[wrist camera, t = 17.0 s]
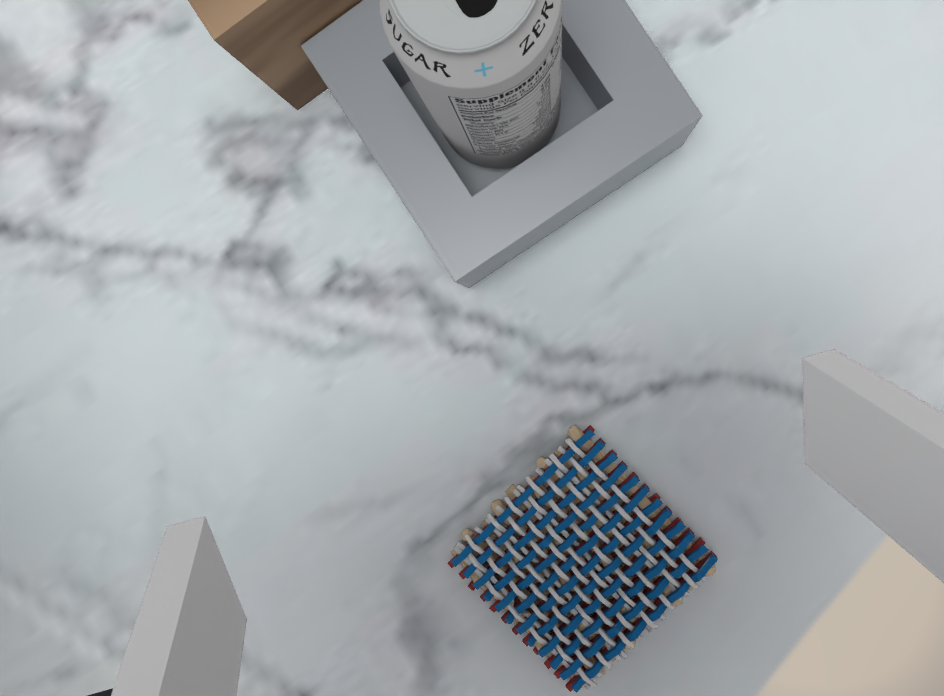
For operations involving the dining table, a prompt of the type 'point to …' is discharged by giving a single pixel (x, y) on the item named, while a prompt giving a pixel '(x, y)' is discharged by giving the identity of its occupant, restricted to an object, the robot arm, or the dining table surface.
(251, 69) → the walnut backstop
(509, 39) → the energy drink can
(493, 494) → the dining table surface
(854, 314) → the dining table surface
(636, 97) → the socket block
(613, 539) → the woven mat
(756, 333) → the dining table surface
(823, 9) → the dining table surface
